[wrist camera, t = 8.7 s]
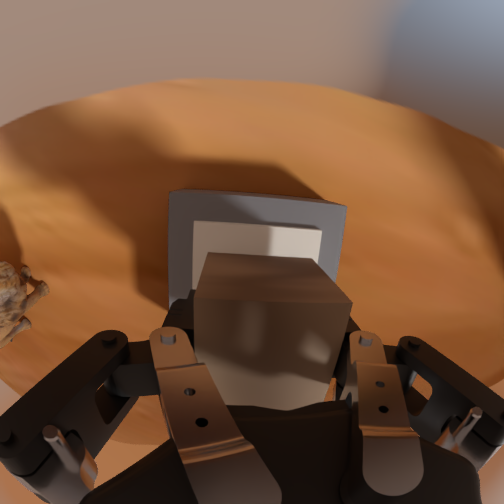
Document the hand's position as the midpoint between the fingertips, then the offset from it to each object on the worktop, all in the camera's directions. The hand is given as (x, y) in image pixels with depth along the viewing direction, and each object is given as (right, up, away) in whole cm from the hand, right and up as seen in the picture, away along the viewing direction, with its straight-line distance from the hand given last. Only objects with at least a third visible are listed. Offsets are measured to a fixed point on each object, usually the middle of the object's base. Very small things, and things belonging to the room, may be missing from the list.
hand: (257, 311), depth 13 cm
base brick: (0, +2, +7) cm, 7 cm away
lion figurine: (-23, -1, +7) cm, 24 cm away
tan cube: (0, 0, +1) cm, 1 cm away
